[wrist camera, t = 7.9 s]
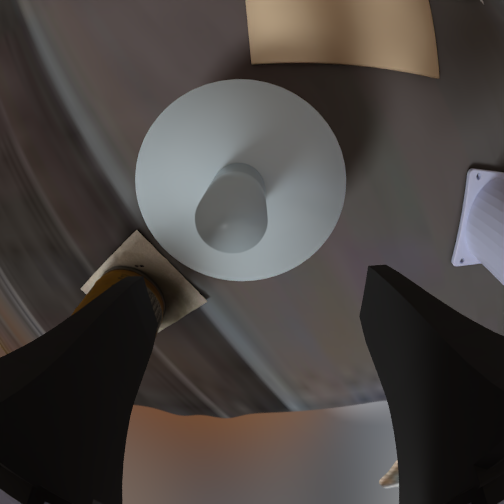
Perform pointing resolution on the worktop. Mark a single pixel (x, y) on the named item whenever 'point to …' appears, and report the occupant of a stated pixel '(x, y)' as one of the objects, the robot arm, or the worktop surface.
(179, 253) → the lid
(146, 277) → the condiment
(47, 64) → the worktop surface
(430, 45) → the mat
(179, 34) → the worktop surface
